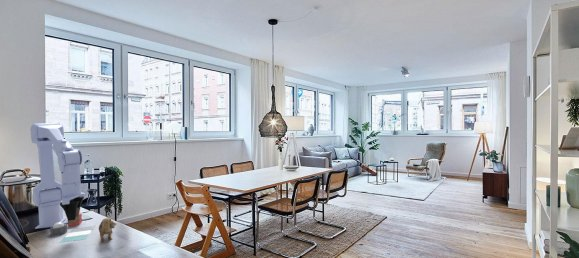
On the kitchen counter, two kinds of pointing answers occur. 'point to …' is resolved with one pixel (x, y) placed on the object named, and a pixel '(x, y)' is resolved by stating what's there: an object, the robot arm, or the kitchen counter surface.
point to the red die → (77, 222)
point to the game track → (78, 234)
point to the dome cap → (58, 225)
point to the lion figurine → (106, 228)
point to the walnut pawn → (75, 218)
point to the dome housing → (58, 230)
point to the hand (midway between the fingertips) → (73, 218)
